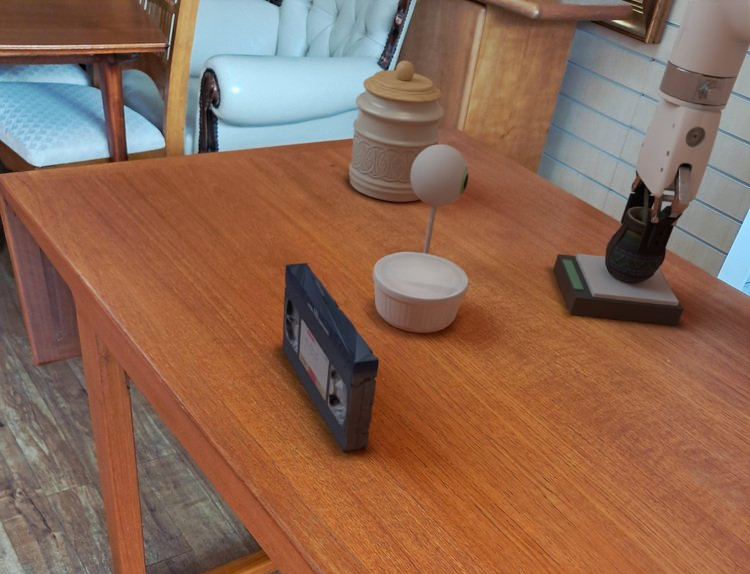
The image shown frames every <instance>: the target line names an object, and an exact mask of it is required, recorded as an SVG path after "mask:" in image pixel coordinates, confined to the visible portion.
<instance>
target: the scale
mask: <svg viewBox="0 0 750 574" xmlns="http://www.w3.org/2000/svg"><path fill="white" fill-rule="evenodd" d="M605 257H606V256H605V255H604V256H603V255H596V254H595V255H594V254H586V253H577V252H576V253H575V255H570V254H563V253H558V254H557V256H556V258H555V259H556V260H555V263H554V266H553V270H552V271H553V274H554V276H555V279H556V281H557V284H558V286H559V289H560V291H561V292H560V293H561V294H562V296H563V299H564V303H565V305H566V307H567V310H568V312H569V315H571V316H582V317H591V318H601V319H608V320H619V321H629V322H637V323H647V324H654V325H655V324H656V325H667V326H674V327H675V326H678V325H679V322H680V320H681V317H682V315H683V312H684V310H685V309H684V306H683V305H682V303H681V302H680V300H679V298H678V297H677V295H676V293H675V292H674V290H673V288H672V287H671V285H670V283H669V281H668V280H667V279H666V277H665V275H664V274H663V272H662V270H661V269H660V267H659V268H658V270H657V271H656V272H655V273H654V275H653V276H652V277H650V278H649V279H647V280H645V281H642V282H640V283H627V282H624V281H621V280H618V279H616V278H615V277H614V276H612V275H611V274H610V273H609V272H608V270H607V268H606V265H605ZM609 274H610V275H609Z"/></svg>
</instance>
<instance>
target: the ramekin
mask: <svg viewBox="0 0 750 574" xmlns="http://www.w3.org/2000/svg"><path fill="white" fill-rule="evenodd" d="M372 280H373V283H374V284H373V285H374V305H375V309H376V311H377V313H378V315H379V316H380V317H381V319H383V321H384V322H386V323H387V324H389V325H390V326H392V327H394V328H396V329H399V330H402V331H405V332H410V333H414V334H415V333H416V334H430V333H435V332H439V331H442V330H444V329H445V328H447V327H448V326H450V325H451V324H452V323H453V321H454V320H455V319H456V316H457V314H458V312H459V309H460V307H461V304H462V302H463V299H464V297H465V296H466V294H467V292H468V289H469V277H468V274H467V273H466V272H465V271H464V269H462V268H461V266H459V265H458V264H456V263H454V262H453V261H451V260H449V259H446V258H444V257H443V256H442V257H441V256H438V255H434V254H431V253H428V254H426V253H423V252H417V251H399V252H394V253H390V254H387V255H385V256H383V257H381V258H380V259H379V260H377V261H376V262H375V264H374V266H373V270H372Z"/></svg>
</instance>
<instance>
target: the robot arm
mask: <svg viewBox="0 0 750 574" xmlns="http://www.w3.org/2000/svg"><path fill="white" fill-rule="evenodd" d="M684 9H685V10H684V12H683V16H682V18H681V21H680V25H679V28H678V30H677V34H676V37H675V40H674V42H673V45H672V48H671V51H670V53H669V57H668V61H667V63H666V66H665V69H664V72H663V74H662V75H663V76H662V78H661V81H660V84H659V87H658V90H657V95H658V96H659V97H660V98H659V100H658V102H657V105H656V107H655V109H654V112H653V114H652V116H651V120H650V122H649V124H648V127H647V130H646V132H645V135H644V138H643V140H642V144H641V147H640V149H639V152H638V156H637V160H636V164H635V167H636V170H635V178H634V180H633V182H632V184H631V186H630V191H631V192H630V193H629V195H628V198H627V201H626V205H625V207H624V210H623V213H622V216H621V219H620V223H621V225H622V224H623V222H624V218H625V215H626V212H627V210H628V209H629V208H633V207H644V192H645V189H644V186H645V187H647V188H648V189H649V193H648V194H649V199H648V202H649V203H648V204H649V205H648V208H651V209H653V212H652V217H651V220H648V219H647V222H646V225H645V228H644V230H643V233H642V236H641V239H640V241H639V244H638V247H637V251H638V253H640V254H648V255H657V256H661V255H662V254H663V253H664V251H665V248H666V249H667V245H668V243H669V241H670V238H671V235H672V233H673V230H674V227H675V226H676V225H678V221H679V220H680V218H681V216H683V214H684V212H685V211H686V210H687V208H689V205H690V203H691V202H692V201H694V200H695V199H696V197H697V194H698V192H699V189H700V187H701V184H702V181H703V179H704V175H705V173H706V170H707V167H708V164H709V161H710V158H711V155H712V152H713V149H714V146H715V143H716V142H715V141H716V139H717V136H718V132H719V128H720V123H721V118H722V114H723V110H725V109H726V107H727V104H728V102H729V100H730V96H731V94H732V91H733V89H734V87H735V84H736V81H737V79H738V76H739V74H740V71H741V69H742V66H743V64H744V61H745V59H746V56H747V53H748V51H749V49H750V0H687V3H686V6H685V8H684ZM664 191H668V192H674V195H673V194H664ZM663 202H665V203H670V205H666V206H665V207H664V208H663V209H662V207H663Z"/></svg>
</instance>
